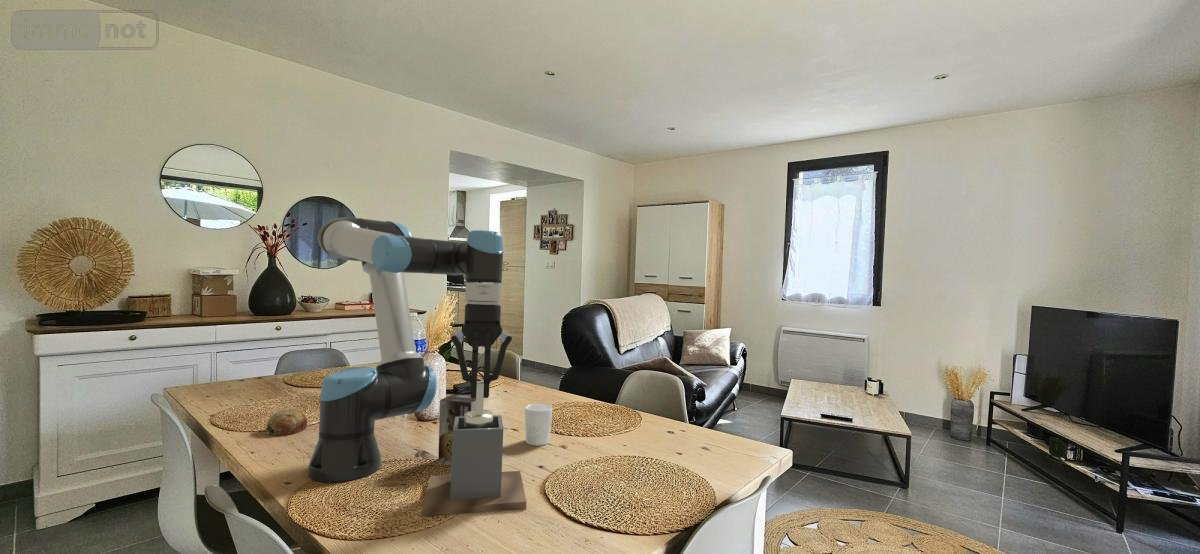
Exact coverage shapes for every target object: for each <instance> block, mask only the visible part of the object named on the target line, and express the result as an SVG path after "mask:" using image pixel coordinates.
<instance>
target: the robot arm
mask: <svg viewBox="0 0 1200 554" xmlns="http://www.w3.org/2000/svg"><path fill="white" fill-rule="evenodd" d="M466 239H467V240H466V241H453V240H440V239H430V238H421V237H414V236H413V235H412V233H411V231H410V230H409V229H408V227H406V225H403V224H401V223H399V222H398V223H397V222H393V221H390V220H386V221H384V220H375V219H367V218H361V217H360V218H359V217H353V216H340V217H335V218H332V219H330V220H328V221H326V222H325V223H324V224H323V225H322V226H321V227H320V229H319V231H318V234H317V242H318V245H319V247H320V249H321V250H322V251H323V252H324V253H325V254H326V255H328V256H329V257H332V258H336V259H339V260H345V261H353V262H355V261H356V262H361V266H362V271H363V272H364V273H366V274H368V275H369V278H370V287H371V294H372V300H373V307H374V315H375V321H376V322H375V323H376V329H377V331H376V332H377V337H378V343H379V352H380V357H381V359H380V361H379V362H378V363H377V365H376V366H375V367H373V366H367V365H366V366H355V367H348V368H344V369H340V370H336V371H333V372H331V373H329V374H328V375H326V376H324V378H323V380H322V382H321V387H320V389H321V390H320V394H319V400H320V401H319V420H318V421H319V424H318V426H319V427H318V440H317V443H316V445H315V448H314V451H313V453H312V456H311V458H310V461H309V463H308V471H307V473H308V477H309V478H311V479H312V480H314V481H316V482H317V481H318V482H325V483H326V482H327V483H334V482H337V483H338V482H344V481H345V482H348V481H353V480H357V479H361V478H363V477H366V476H369V475H371V474H373V473H374V472H377V471H378V469H380V467H381V464H382V454H381V452H380V447H379V445H378V442H377V438H376V435H375V423H376V421H377V420H382V419H389V418H393V417H399V416H404V415H412V414H416V413H418V412H423V411H425V410H427V408H429V407H430V406H431V404H432V403H433V401H434V398H435V396H436V393H437V375H436V372H435V371H434V369H433V367H431V366H430V365H429V366H428V365H427V364H426V365H425V361H424V357H423V356H421V355H420V354H419V353H417V349H416V348H417V347H416V344H415V343H416V342H415V337H414V330H413V324H412V319H411V312H410V305H409V300H408V293H407V286H406V280H405V273H408V274H409V273H411V274H413V273H414V274H431V275H446V276H465V295H464V296H465V298H464V299H465V301H466V302H467V303H466V304H465V305H464V321H463V325H462V328H461V331H459V332H457V333H456V334H452V335H451V337H450V341H451V342H452V344H453V345H454V346H455V349H456V354H457V359H458V364H459V370H460V372H461V377H462V380H463V381H465V382H469V383H470V396H471V398H476V415H483V411H484V399H488V398H489V396H490V383H491V382H493V381H497V380H498V379H499V377H500V373H501V370H502V366H503V361H504V359H505V355H506V352H507V350H508V349H507V348H508V346H509V345H510V343H511V341H512V340H513V337H512V336H511V335H510V334H508V333H506V332H505V331H503V328H502V327H503V326H502V325H501V316H502V315H501V313H502V310H501V309H502V305H500V304H499V302H501V301H502V290H503V289H502V285H503V284H502V281H503V266H504V265H503V264H504V252H505V250H504V237H503V235H502V234H501V233H500V232H498V231H492V230H481V229H479V230H478V229H477V230H475V229H474V230H470V231H469V232H468V233H467V238H466ZM463 337H465V339H466V340H467V342H468V343H469V344H470V345H471V346H472V347H471V348H472V351H471V354H472V355H471V373H470V374H469V372H468V371H469V370H468V368H467V362H466V357H465V352H464V351H465V350H464V348H463V341H464V338H463ZM499 338H500V342H501V343H500V347H499V349H498V352H497V353H498V354H497V358H496V361H495V364H494V368H493V370H492V371H493V372H492V373H491V351H492V350H491V349H492V347H491V346H493V345H494V344H495V342H496V341H497V340H498V339H499ZM479 347H484V359H483V380H482V381H478V363H479Z"/></svg>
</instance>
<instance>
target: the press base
mask: <svg viewBox="0 0 1200 554" xmlns="http://www.w3.org/2000/svg"><path fill="white" fill-rule="evenodd" d="M427 484H428V485H427V488H426V492H425V496H424V500H423V505H422V508H421V518H430V517H431V518H433V517H442V516H456V515H458V516H459V515H467V514H468V515H470V514H478V513H479V514H480V513H493V512H495V513H496V512H507V511H517V510H527V497H526V492H525V488H524V483H523V479H522V474H521V470H512V471H511V470H510V471H502V477H501V497H492V498H478V499H465V500H451V501H450V488H451V474H447V475H430V477H429V480H428V483H427Z"/></svg>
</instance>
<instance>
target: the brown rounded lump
mask: <svg viewBox="0 0 1200 554" xmlns="http://www.w3.org/2000/svg"><path fill="white" fill-rule="evenodd" d="M307 427H308V418H307V416H305V413H304V412H301V411H300V410H297V409H294V408H290V409H289V408H288V409H282V410H279V411H277V412H274V414H273V415H272V416H270V418H269V419H268V421H267V423H266V431H267V433H266V435H272V436H291V435H296V434H299V433H301V432H303V431H305V430H306V429H307Z"/></svg>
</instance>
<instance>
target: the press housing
mask: <svg viewBox="0 0 1200 554" xmlns="http://www.w3.org/2000/svg"><path fill="white" fill-rule="evenodd" d="M503 446H504V423H503V419H502V415H501V414H500V415H498V414H497V415H495V414H493V426H492V427H490V428H477V429H467V428H465V427H464V416H463V417H455V421H454V427H453V438H452V463H451V465H450V466H451V467H450V475H451V488H450V501H451V500H465V499H478V498H492V497H501V477H502V472H503V471H502V470H503Z"/></svg>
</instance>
